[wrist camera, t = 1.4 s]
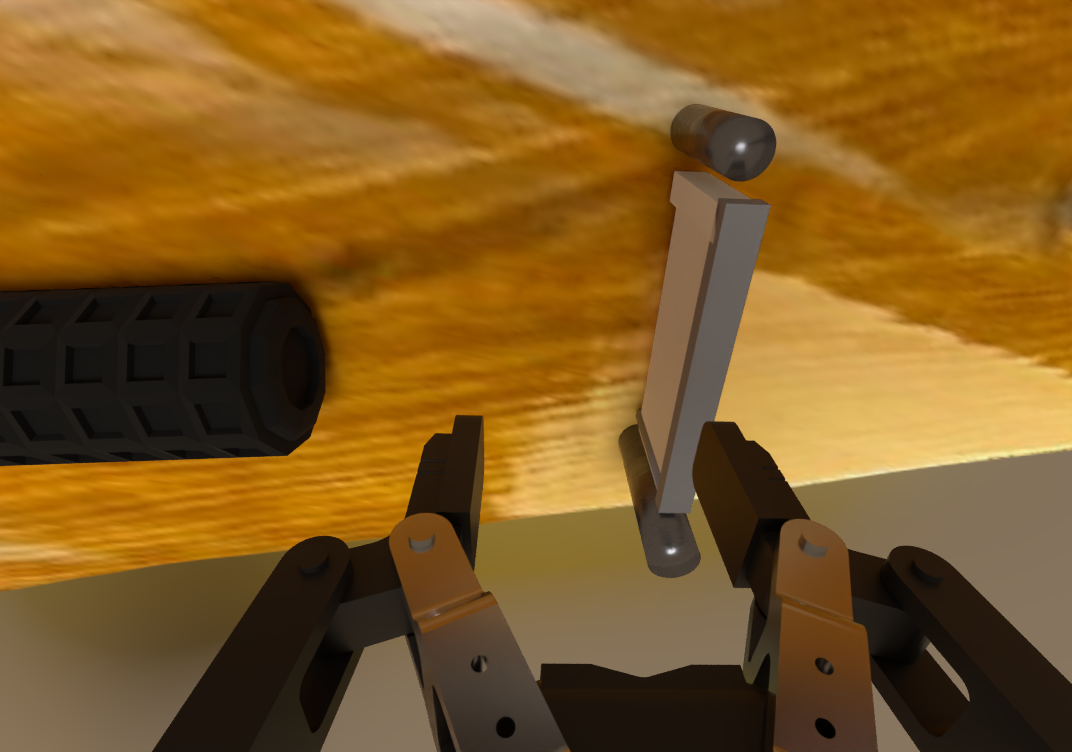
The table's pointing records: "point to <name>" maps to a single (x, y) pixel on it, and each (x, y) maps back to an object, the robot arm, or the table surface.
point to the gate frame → (666, 537)
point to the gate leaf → (696, 325)
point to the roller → (157, 373)
